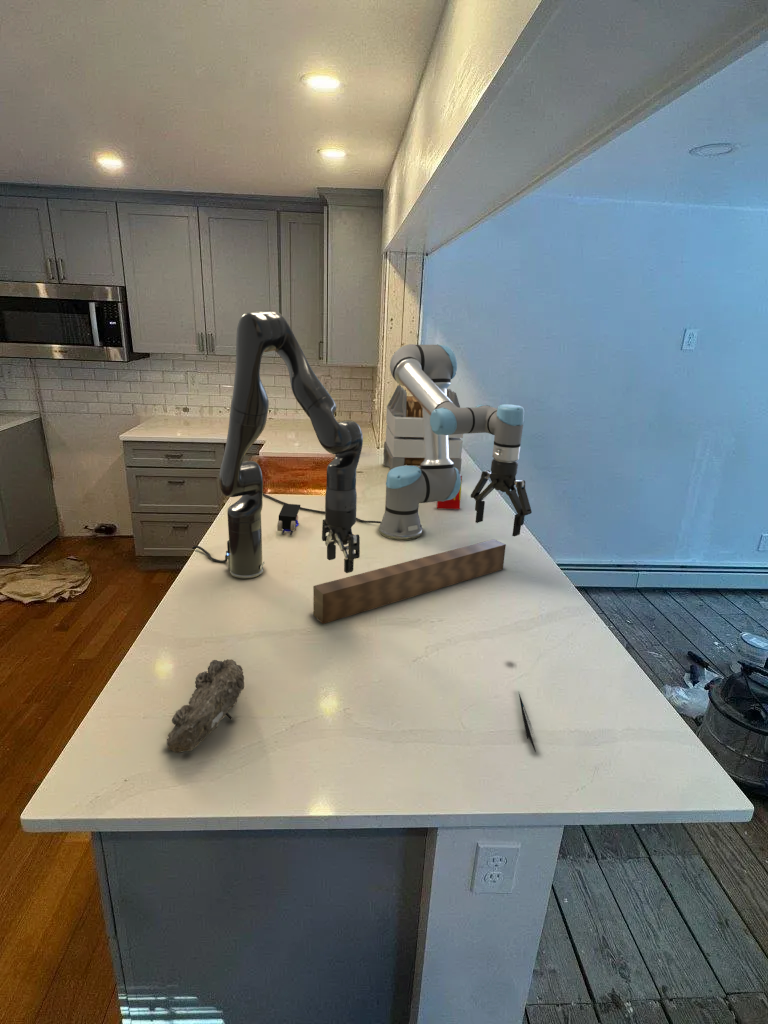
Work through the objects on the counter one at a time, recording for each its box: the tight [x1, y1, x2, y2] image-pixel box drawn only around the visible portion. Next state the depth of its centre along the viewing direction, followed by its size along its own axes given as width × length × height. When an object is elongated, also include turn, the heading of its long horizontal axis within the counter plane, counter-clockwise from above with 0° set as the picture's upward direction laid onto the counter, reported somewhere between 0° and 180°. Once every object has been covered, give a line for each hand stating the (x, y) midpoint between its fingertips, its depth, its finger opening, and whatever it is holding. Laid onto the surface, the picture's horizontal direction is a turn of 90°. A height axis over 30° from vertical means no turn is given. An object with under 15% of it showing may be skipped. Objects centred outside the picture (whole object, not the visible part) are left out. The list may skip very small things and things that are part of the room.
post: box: [312, 538, 507, 625], centre depth 159 cm, size 64×5×8 cm, turn 125°
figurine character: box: [276, 503, 301, 536], centre depth 198 cm, size 7×8×15 cm
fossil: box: [166, 658, 245, 754], centre depth 106 cm, size 22×10×15 cm
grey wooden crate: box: [383, 384, 464, 475], centre depth 268 cm, size 34×33×41 cm
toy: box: [436, 475, 463, 510], centre depth 238 cm, size 12×13×30 cm
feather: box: [517, 691, 537, 753], centre depth 115 cm, size 2×28×2 cm
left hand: (339, 565), depth 142 cm, fingers open, 8 cm apart
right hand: (497, 528), depth 170 cm, fingers open, 13 cm apart
